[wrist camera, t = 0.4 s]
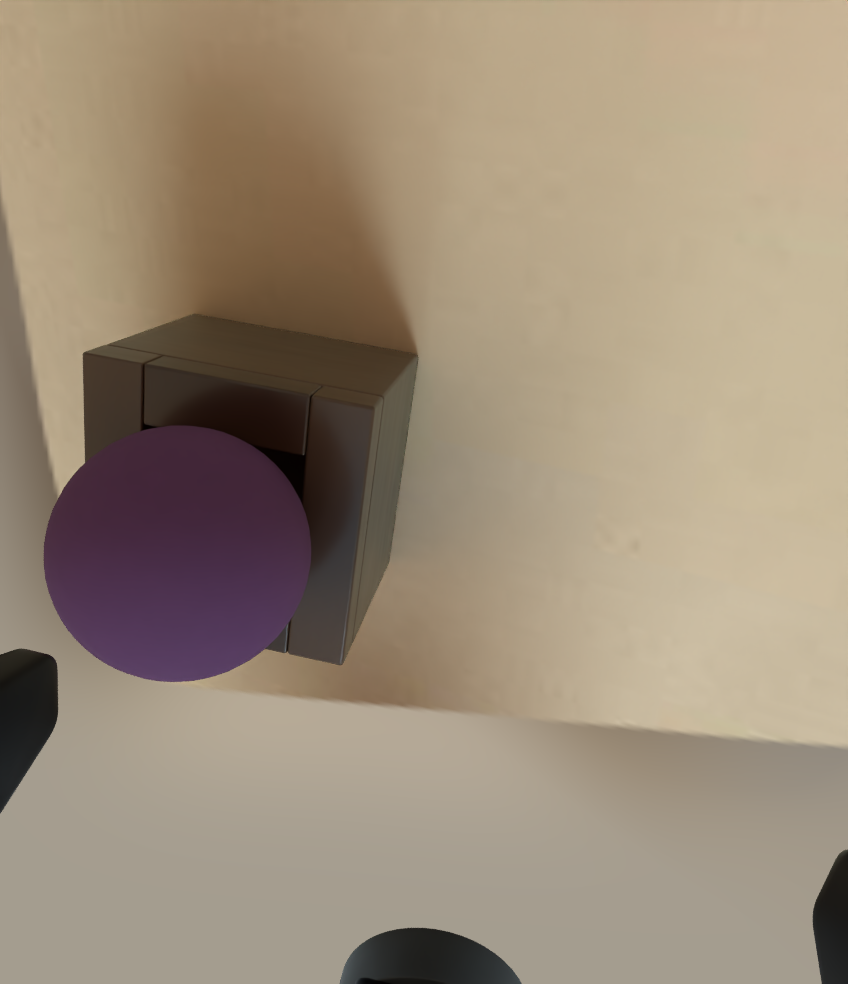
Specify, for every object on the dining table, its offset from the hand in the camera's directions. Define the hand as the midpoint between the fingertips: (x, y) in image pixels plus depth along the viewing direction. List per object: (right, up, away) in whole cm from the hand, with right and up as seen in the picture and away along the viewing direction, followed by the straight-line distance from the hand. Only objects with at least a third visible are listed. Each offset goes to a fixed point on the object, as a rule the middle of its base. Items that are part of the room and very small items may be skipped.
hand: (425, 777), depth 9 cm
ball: (-5, +2, +9) cm, 10 cm away
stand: (-4, +5, +16) cm, 17 cm away
